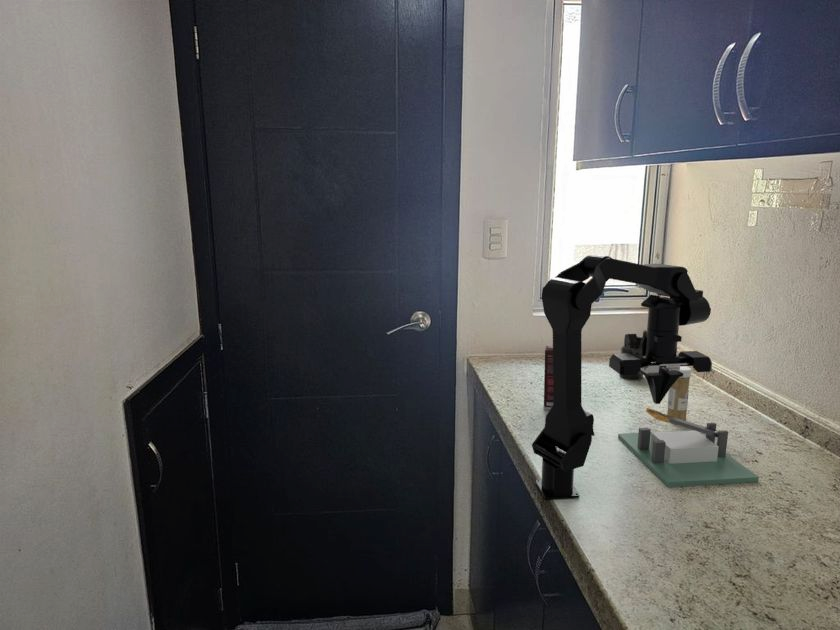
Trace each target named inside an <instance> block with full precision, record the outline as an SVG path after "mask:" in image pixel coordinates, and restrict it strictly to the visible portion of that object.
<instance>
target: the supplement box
mask: <svg viewBox="0 0 840 630" xmlns="http://www.w3.org/2000/svg"><path fill="white" fill-rule="evenodd" d="M543 376H544V380H543V383H544V385H543V387H544V388H543V410H544V411H549V410H550V409H551V407H552V406H553V345H546V346H545V348H544V375H543Z"/></svg>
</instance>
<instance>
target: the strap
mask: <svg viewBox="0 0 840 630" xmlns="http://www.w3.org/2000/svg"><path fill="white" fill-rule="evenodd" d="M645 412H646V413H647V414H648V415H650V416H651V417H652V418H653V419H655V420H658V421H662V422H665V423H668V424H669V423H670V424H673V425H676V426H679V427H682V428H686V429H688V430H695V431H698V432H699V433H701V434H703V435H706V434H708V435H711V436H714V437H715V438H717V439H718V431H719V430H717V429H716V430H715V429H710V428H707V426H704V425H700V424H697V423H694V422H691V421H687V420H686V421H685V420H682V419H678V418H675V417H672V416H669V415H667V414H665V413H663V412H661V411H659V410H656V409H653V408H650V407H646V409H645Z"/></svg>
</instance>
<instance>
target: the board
mask: <svg viewBox="0 0 840 630" xmlns="http://www.w3.org/2000/svg"><path fill="white" fill-rule="evenodd" d="M706 427H707V428H710V429H715V430H717V423H716V422H707V423H706ZM717 431H718V438H717V442H716V443H715V441H716V437H714V436H711V435H708V434H703V433H701V432H698V431H695V430H692V429H688V430H666V431H651V428H649V427H638V432H628V433H627V432H626V433H618V434H617V438H618V439H619V441H621V442H622V443H623V444H624V446H626V447H627V449H629V450H630V451H631V453H633V455H635V456H636V457H637V458H638V460H640V461H641V462H642V463H643V464H644V465H645V466H646V467H647V468H648V469H649V471H650V472H652V473H653V474H654V475H655V476H656V477H657V478H658V480H660V481H661V482H662V483H663V484H664V485H665V486H666V488H674V487H677V488H678V487H690V486H691V487H692V486H693V487H694V486H695V487H696V486H709V485H726V484H730V485H731V484H741V483H742V484H745V483H759V478H760V477H759V476H758V475H757V474H755V473H754V472H752V471H751V470H750V469H748V468H747V467H746V466H744V465H743V464H742V463H741V462H739V460H736V459H735V458H734V457H732V456H731V455H729V454H728V453H727V446H728V438H729V437H728V435H729V431H728V430H725V429H724V430H723V429H722V430H717Z"/></svg>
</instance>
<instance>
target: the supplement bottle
mask: <svg viewBox="0 0 840 630" xmlns="http://www.w3.org/2000/svg"><path fill="white" fill-rule="evenodd" d="M637 338H641V337H640V336H637ZM625 353H629V354H631V355H633V356H634V357H636V358H645V356H641V355H639V354H633V349H628V350H626V349H625V346H624V345H622V346H621V349H620V354H625ZM618 375H619V376H620V378H623V379H626V380H629V379H630V381H635V380H636V381H637V380H638V381H640V380H642V379H643V378H644V375H643V374H642V373H640V372H639V373H638V374H636V375H621V374H619V373H618Z"/></svg>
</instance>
